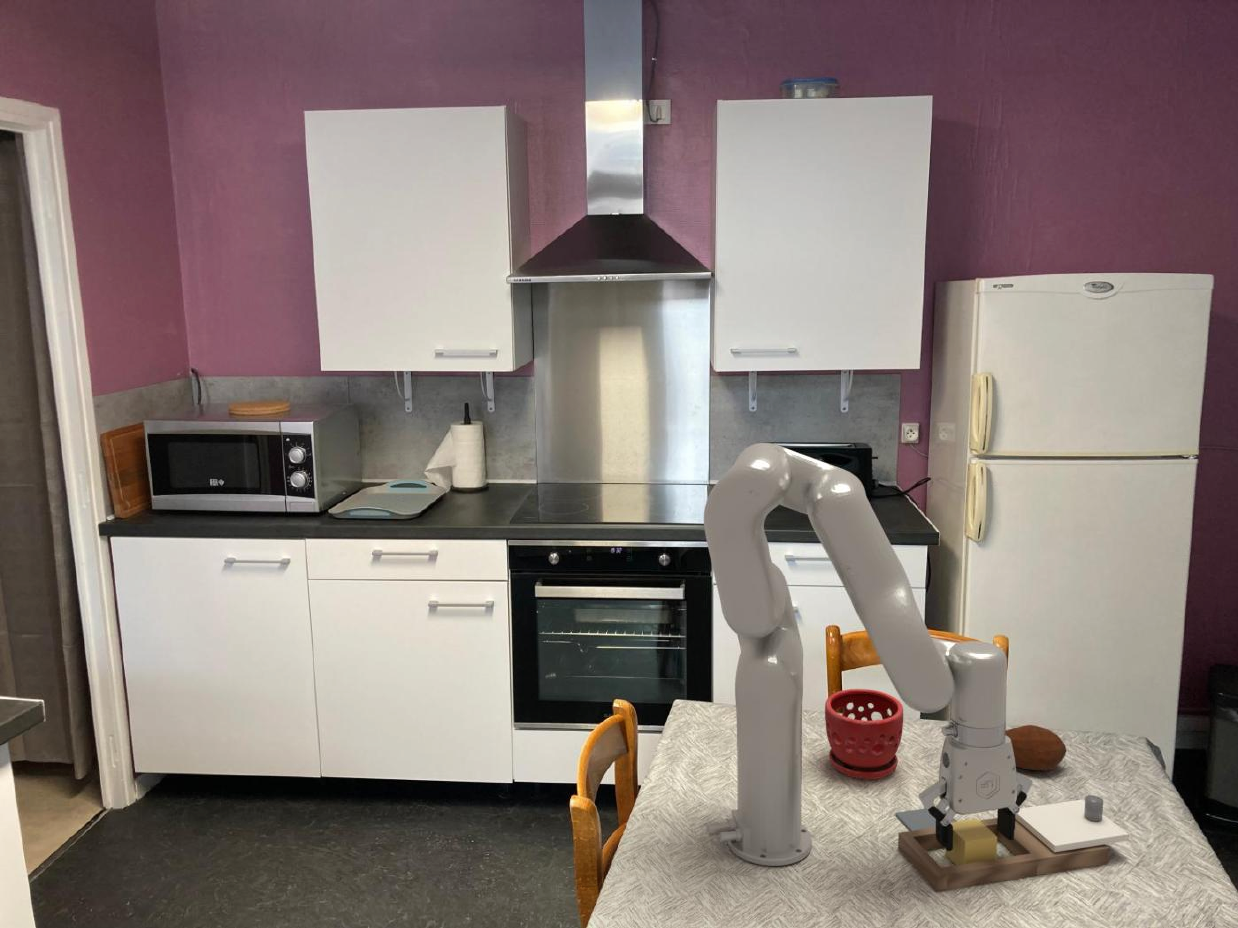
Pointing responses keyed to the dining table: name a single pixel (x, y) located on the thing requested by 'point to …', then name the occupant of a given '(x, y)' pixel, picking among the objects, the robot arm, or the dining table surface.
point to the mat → (918, 819)
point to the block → (972, 842)
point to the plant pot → (864, 733)
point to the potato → (1036, 747)
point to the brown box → (1025, 863)
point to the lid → (1071, 824)
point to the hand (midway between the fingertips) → (975, 840)
